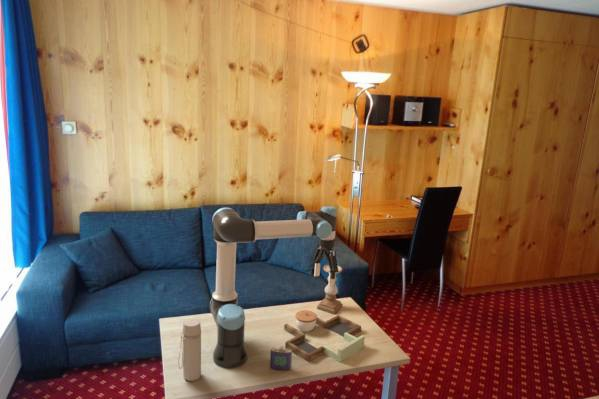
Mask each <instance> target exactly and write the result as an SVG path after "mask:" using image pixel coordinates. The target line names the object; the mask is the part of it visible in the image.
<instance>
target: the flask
mask: <svg viewBox="0 0 599 399" xmlns="http://www.w3.org/2000/svg"><path fill="white" fill-rule="evenodd" d="M269 355H270V358H269V359H270V361H269V362H270V363H269V364H270V365H269V369H270V370H274V371H282V372H283V371H287V372H288V371H291V369H292V360H293V359H292V358H293V357H292V356H293V352H292V350H290V349H286V348H285V349H284V346H280V348H276V347H272V348H271V349H270V354H269Z"/></svg>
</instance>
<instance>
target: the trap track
mask: <svg viewBox="0 0 599 399" xmlns="http://www.w3.org/2000/svg"><path fill="white" fill-rule="evenodd" d="M315 325H317V326H319V327H320V328H322V329H324V330H326V329H328V330H330V331H332V332H333V333H335V334H338V335H340V336H342V337H343V340H345V341H347V342H348V343H346V344H344V345H342V346H341V347H340V348H338V350H337V351H336V350H334V349H332V348H330V347H329V346H327V345H325V344H323V345H321V346H319V347H315V346H314V345H312V344H310V343H309V342H307V341H305V340H306V334H305V332H302V331H300V330H299V329H298V328H295V327H293V326H292V325H290V324H288V323H285V324H283V330H284V331H285V332H287V333H288V334H290V335H292V336H293V337H292V338H291V339H288V340H287V341H285V342H284V344H285V346H284V348H285V349H286V350H288V349H290V350H292V354H294V355H296V356H297V357H299V358H301V359H303V360H304V361H305V362H307V363H310V362H311V361H313V360H315V359H316V358H319V357H320V356H322V355H323V354H325V355H326V356H328V357H330V358H332V359H333V360H335V361H337V362H338V363H341V362H344V361H345V360H346V359H348V358H350V357H351V356H353V355H354V354H355V353H357V352H359V351H361V350H362V349H364V346H365V339H366V335H364V334H361V335H360V336H358V337H356V335H358V334H359V333H361V331H362V326H361V324H360V325H359V324H358V323H356V322H353V321H351V320H349V319H348V318H346V317H343V316H341V315H340V314H337V315H335V316H334V317H331V318H330V319H327V320H326V321H325V320H324V319H321V318H319V317H317V319H316V324H315Z"/></svg>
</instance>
